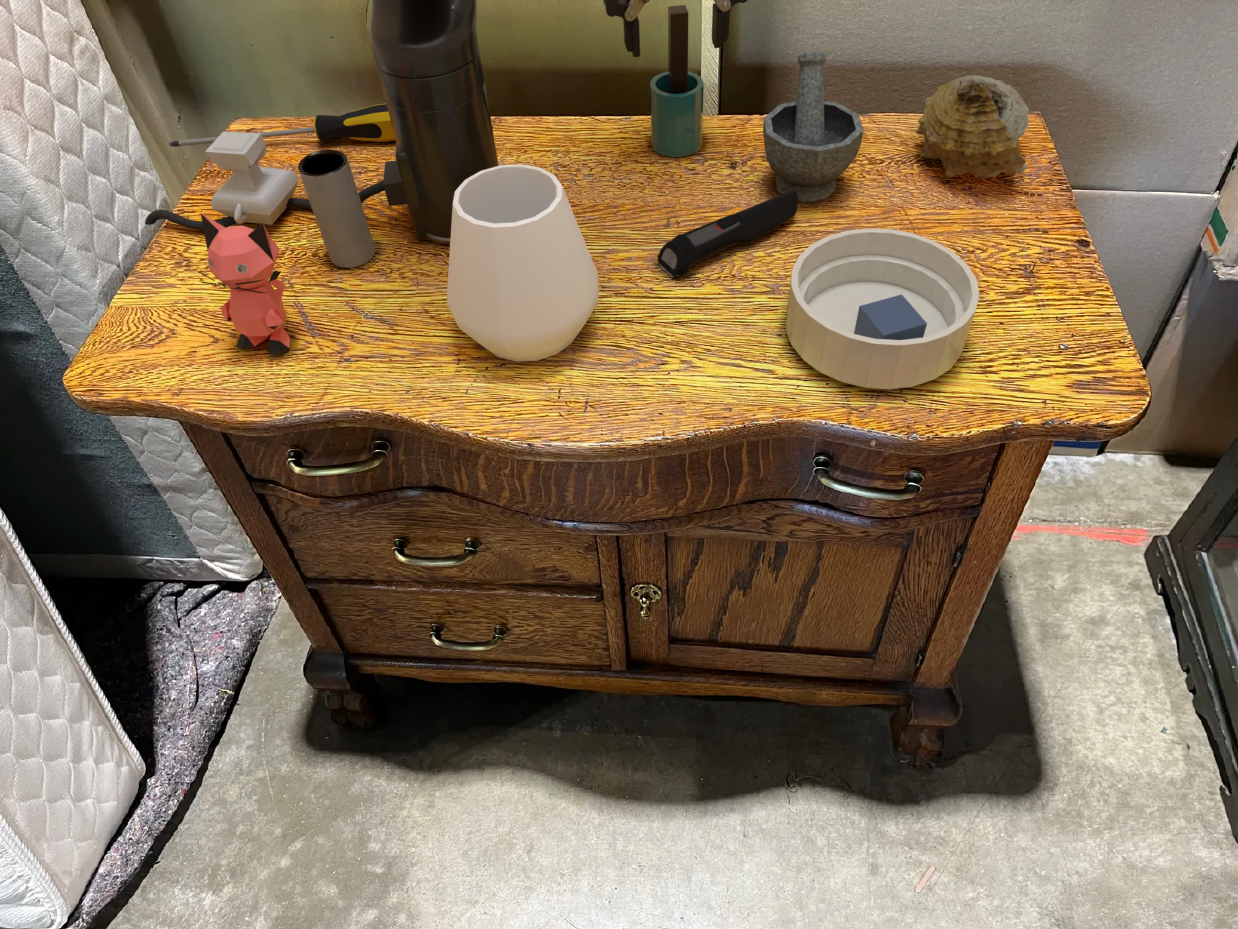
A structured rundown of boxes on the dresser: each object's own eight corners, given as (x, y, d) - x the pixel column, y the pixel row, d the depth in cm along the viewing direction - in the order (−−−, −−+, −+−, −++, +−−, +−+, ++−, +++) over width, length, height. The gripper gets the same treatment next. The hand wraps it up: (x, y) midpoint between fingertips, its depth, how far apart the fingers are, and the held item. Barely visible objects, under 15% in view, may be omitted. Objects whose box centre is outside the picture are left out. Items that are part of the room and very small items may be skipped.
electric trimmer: (805, 226, 90) (809, 198, 88) (677, 282, 85) (677, 254, 83) (781, 208, 93) (784, 181, 90) (654, 262, 88) (654, 234, 85)
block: (875, 371, 76) (883, 335, 73) (851, 341, 78) (859, 305, 75) (917, 359, 76) (927, 323, 73) (893, 329, 79) (901, 293, 76)
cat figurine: (212, 353, 81) (167, 230, 73) (256, 313, 86) (219, 194, 78) (281, 367, 79) (243, 242, 71) (322, 325, 84) (291, 205, 76)
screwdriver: (428, 125, 106) (180, 149, 108) (420, 97, 103) (166, 123, 105) (424, 140, 103) (171, 165, 105) (416, 112, 101) (157, 138, 103)
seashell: (997, 30, 93) (918, 94, 101) (966, 81, 84) (882, 147, 92) (1062, 113, 95) (980, 169, 103) (1038, 171, 86) (950, 229, 94)
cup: (615, 285, 86) (606, 151, 75) (586, 385, 77) (572, 250, 66) (478, 275, 88) (451, 143, 77) (436, 371, 79) (399, 238, 68)
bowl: (809, 404, 74) (817, 354, 70) (768, 287, 84) (773, 238, 80) (990, 382, 75) (1008, 332, 71) (928, 269, 85) (941, 219, 81)
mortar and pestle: (858, 211, 91) (878, 97, 82) (764, 214, 92) (773, 101, 83) (842, 150, 98) (859, 40, 89) (755, 153, 99) (763, 43, 90)
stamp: (273, 242, 93) (242, 168, 86) (215, 235, 94) (181, 162, 88) (311, 192, 98) (286, 119, 92) (257, 187, 100) (227, 115, 93)
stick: (671, 143, 100) (670, 13, 90) (668, 135, 101) (667, 6, 91) (687, 141, 100) (688, 12, 90) (684, 133, 101) (685, 4, 91)
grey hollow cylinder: (383, 244, 92) (356, 152, 84) (361, 271, 89) (331, 178, 81) (344, 237, 93) (314, 145, 85) (321, 264, 90) (287, 171, 82)
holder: (655, 159, 99) (654, 98, 94) (648, 133, 103) (646, 73, 97) (706, 154, 99) (707, 93, 94) (697, 127, 103) (698, 67, 98)
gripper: (746, -153, 83) (736, 26, 96) (592, -139, 83) (603, 39, 95) (764, -126, 79) (752, 59, 91) (601, -110, 78) (611, 74, 90)
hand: (676, 49), depth 93 cm, fingers open, 8 cm apart
